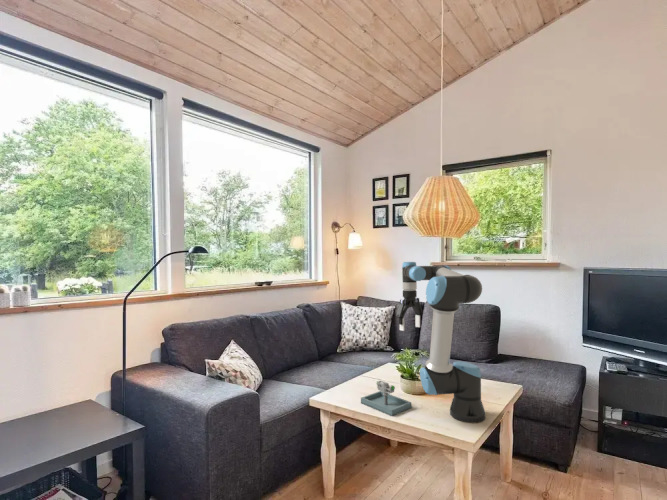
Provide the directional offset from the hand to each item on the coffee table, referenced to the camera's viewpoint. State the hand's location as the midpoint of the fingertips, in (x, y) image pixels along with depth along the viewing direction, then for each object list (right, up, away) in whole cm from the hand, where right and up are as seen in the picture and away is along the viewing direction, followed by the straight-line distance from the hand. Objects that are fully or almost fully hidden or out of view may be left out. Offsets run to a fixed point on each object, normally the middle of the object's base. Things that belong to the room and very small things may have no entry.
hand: (410, 328), depth 210 cm
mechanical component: (-17, -31, -25) cm, 43 cm away
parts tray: (-17, -32, -25) cm, 44 cm away
